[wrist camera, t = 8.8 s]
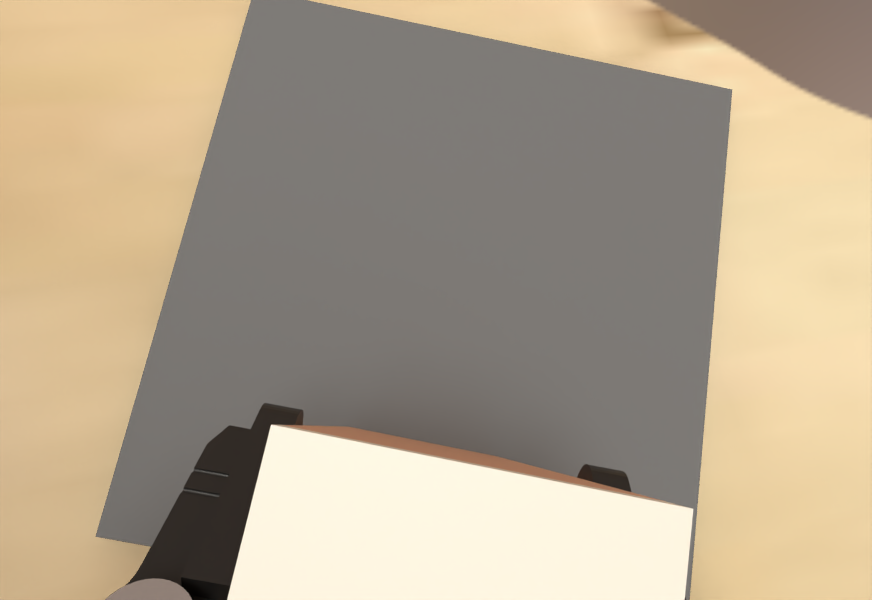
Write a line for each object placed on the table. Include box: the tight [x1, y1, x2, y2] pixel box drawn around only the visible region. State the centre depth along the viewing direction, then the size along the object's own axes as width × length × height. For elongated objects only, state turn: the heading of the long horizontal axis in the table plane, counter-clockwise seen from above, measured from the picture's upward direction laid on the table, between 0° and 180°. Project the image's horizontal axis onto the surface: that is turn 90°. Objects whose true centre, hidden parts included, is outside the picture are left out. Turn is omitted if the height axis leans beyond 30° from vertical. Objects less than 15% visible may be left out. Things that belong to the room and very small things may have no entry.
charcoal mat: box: [96, 0, 732, 600], centre depth 19 cm, size 17×18×1 cm
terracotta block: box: [227, 425, 693, 600], centre depth 12 cm, size 4×4×12 cm
